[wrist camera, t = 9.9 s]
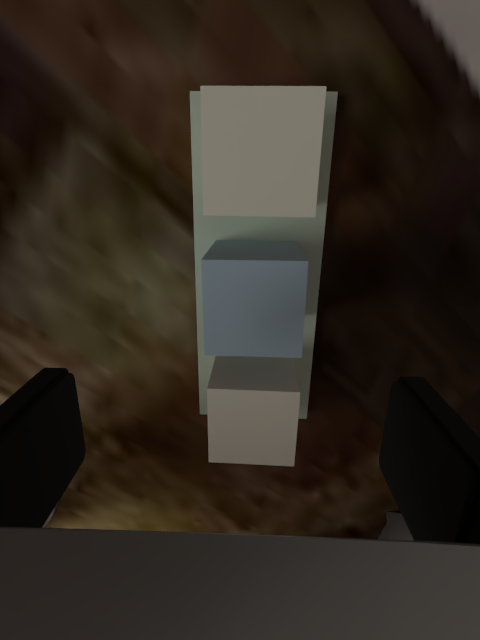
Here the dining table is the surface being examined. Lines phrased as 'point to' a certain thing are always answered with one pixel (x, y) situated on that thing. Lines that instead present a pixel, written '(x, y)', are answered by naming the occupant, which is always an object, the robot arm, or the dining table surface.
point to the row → (259, 225)
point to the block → (254, 298)
